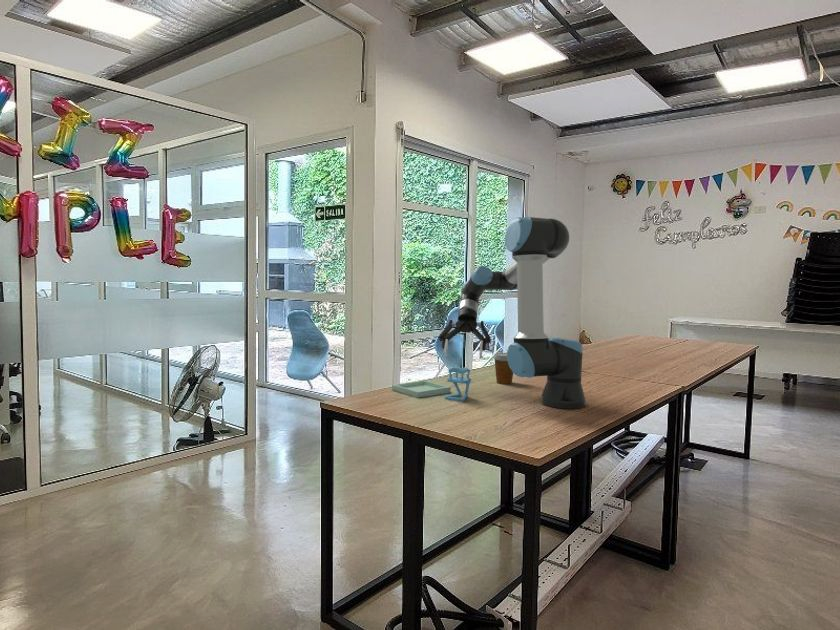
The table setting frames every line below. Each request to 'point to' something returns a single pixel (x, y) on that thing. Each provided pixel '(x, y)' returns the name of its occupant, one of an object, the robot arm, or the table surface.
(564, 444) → the table surface
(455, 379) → the chair
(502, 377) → the disposable coffee cup
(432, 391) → the tray
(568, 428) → the table surface
